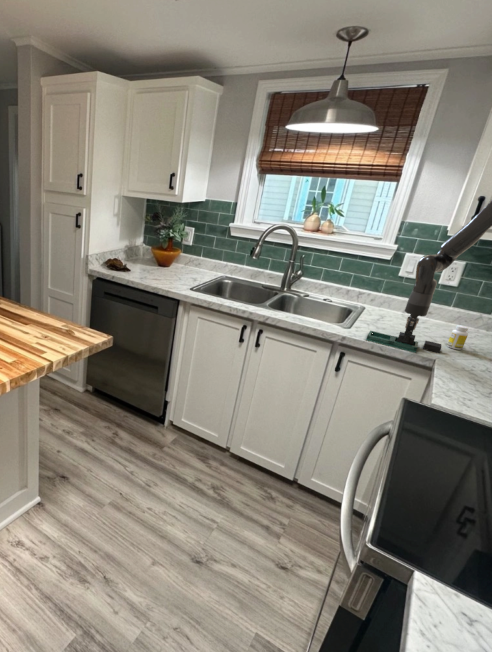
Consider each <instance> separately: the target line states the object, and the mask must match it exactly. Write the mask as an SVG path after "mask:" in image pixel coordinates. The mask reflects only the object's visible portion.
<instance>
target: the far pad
mask: <svg viewBox="0 0 492 652" xmlns="http://www.w3.org/2000/svg"><path fill="white" fill-rule="evenodd" d="M422 350H424V351H428V352H432V353H437V354H440V352H441V350H442V343H438V342H434V341H429V340H425V341H424V344H423V346H422Z"/></svg>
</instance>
